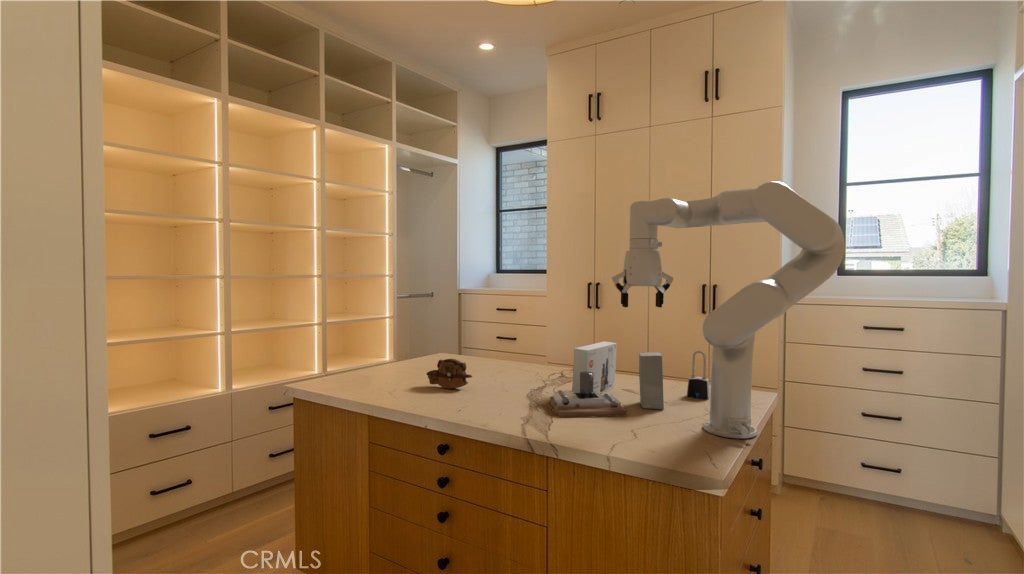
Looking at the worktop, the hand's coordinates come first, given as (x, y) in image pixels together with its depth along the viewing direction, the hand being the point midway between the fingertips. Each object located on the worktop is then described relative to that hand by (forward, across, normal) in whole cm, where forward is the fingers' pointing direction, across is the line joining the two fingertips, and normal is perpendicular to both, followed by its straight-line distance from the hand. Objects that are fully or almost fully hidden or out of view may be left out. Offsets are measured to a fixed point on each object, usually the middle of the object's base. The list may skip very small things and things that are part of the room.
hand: (641, 307), depth 143 cm
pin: (+29, +14, -6) cm, 33 cm away
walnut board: (+30, +14, -6) cm, 34 cm away
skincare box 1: (+31, +7, -24) cm, 40 cm away
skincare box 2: (+31, -6, -8) cm, 32 cm away
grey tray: (+29, +14, -6) cm, 33 cm away
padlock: (+31, -25, -17) cm, 43 cm away
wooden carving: (+31, +55, -32) cm, 71 cm away
